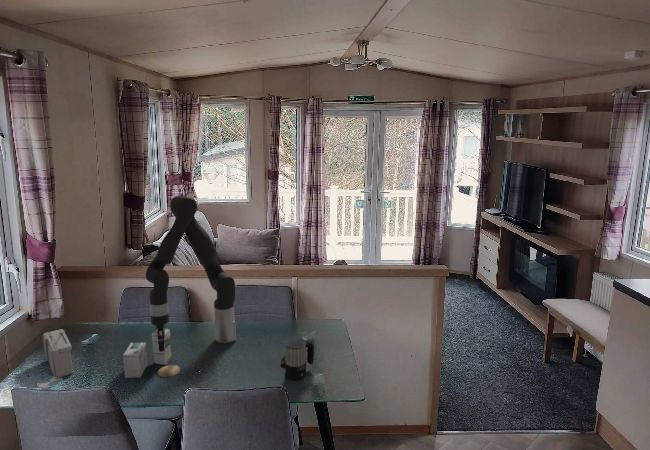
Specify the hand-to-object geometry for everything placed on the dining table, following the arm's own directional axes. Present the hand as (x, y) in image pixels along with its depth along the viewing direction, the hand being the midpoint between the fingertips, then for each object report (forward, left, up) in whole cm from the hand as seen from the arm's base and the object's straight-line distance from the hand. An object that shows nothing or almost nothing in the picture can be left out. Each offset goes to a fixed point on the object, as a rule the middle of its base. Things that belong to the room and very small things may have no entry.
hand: (161, 346), depth 212 cm
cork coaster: (-2, +10, -7) cm, 12 cm away
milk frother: (-52, +26, -7) cm, 59 cm away
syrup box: (0, 0, -7) cm, 7 cm away
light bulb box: (+11, +5, -7) cm, 14 cm away
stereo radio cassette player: (+42, -9, -7) cm, 43 cm away
